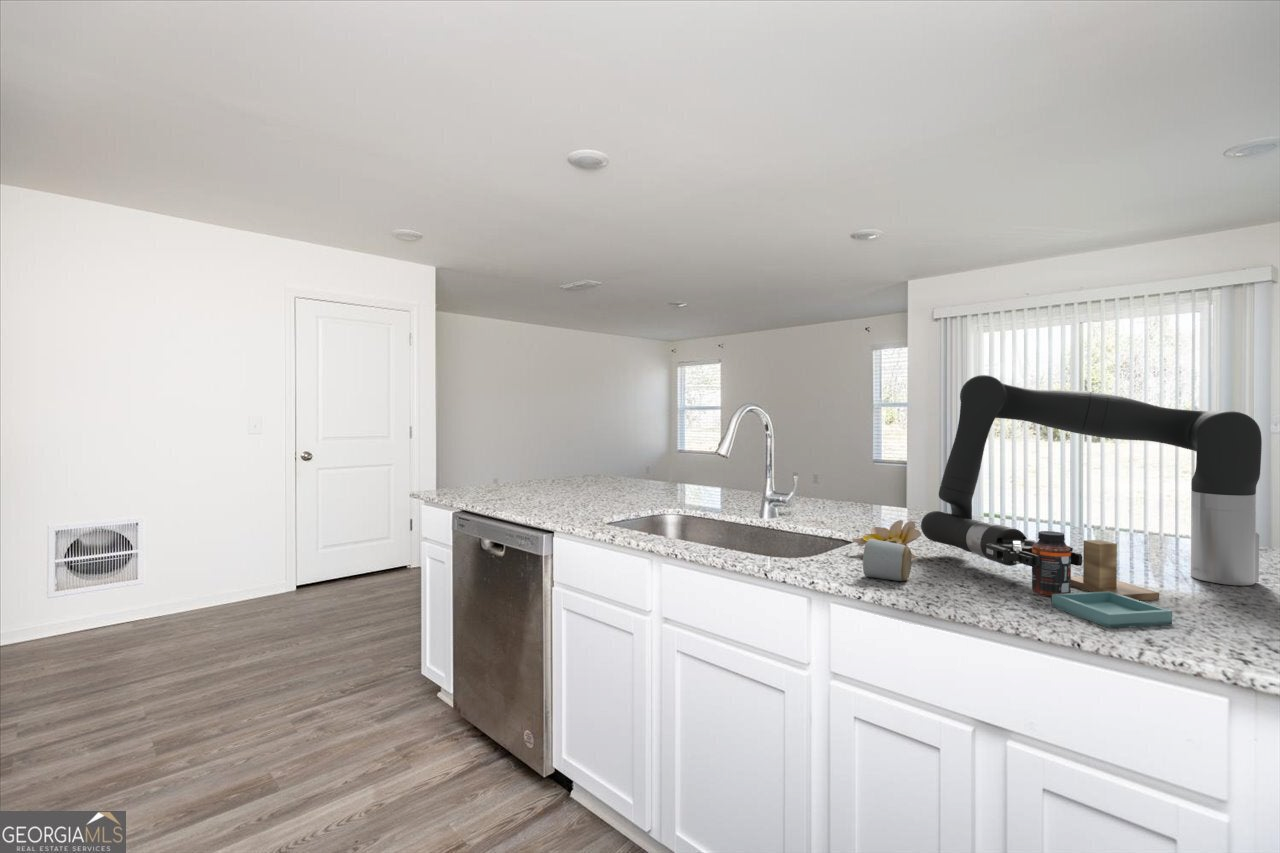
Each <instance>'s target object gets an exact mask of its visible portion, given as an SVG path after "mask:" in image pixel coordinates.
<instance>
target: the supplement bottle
mask: <svg viewBox="0 0 1280 853" xmlns="http://www.w3.org/2000/svg"><path fill="white" fill-rule="evenodd" d="M1037 538H1038V541H1036V542H1037V543H1034V544H1033V546H1032V554H1035V555H1039V557H1040V567H1038V568H1034V567H1031V589H1032V591H1033V593H1035V594H1037V595H1039V596H1042V595H1043V596H1042V597H1047V596H1048V597H1049V598H1052V594H1064V593H1071V590H1072V586H1071V577H1072V567H1071V566H1072V564H1071V549H1070V548H1069V547H1068V546H1069V545H1067V544H1066V542H1065V533H1064V532H1061V531H1060V532H1059V531H1054V530H1053V531H1052V530H1051V531H1050V530H1041V531H1038V537H1037Z"/></svg>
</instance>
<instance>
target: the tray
mask: <svg viewBox="0 0 1280 853" xmlns="http://www.w3.org/2000/svg"><path fill="white" fill-rule="evenodd" d="M1052 606H1053V607H1052ZM1051 607H1052V608H1055V609H1058V610H1061V611H1064V612H1066V613H1069V614H1071V615H1074V616H1076V617H1078V616H1079V618H1081V617H1082V618H1081V619H1083V620H1086V619H1087V621H1089V620H1090V622H1091V621H1093V622H1092V623H1094V622H1095V623H1094V624H1097V623H1098V624H1097V625H1099V624H1100V625H1099V626H1102V627H1105V628H1107V629H1116V628H1117V629H1120V628H1119V627H1123V628H1130V627H1129V626H1139V627H1152V626H1153V625H1155V626H1169V625H1168V624H1171V625H1173V610H1170V609H1167V608H1164V607H1161V606H1158V605H1155V604H1152V603H1147V602H1145V601H1143V600H1140V601H1139V600H1136V599H1133V598H1129V597H1126V596H1123V595H1120V594H1117V593H1114V592H1111V591H1102V592H1088V591H1085V592H1070V593H1064V594H1052V597H1051ZM1153 627H1154V626H1153Z"/></svg>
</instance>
